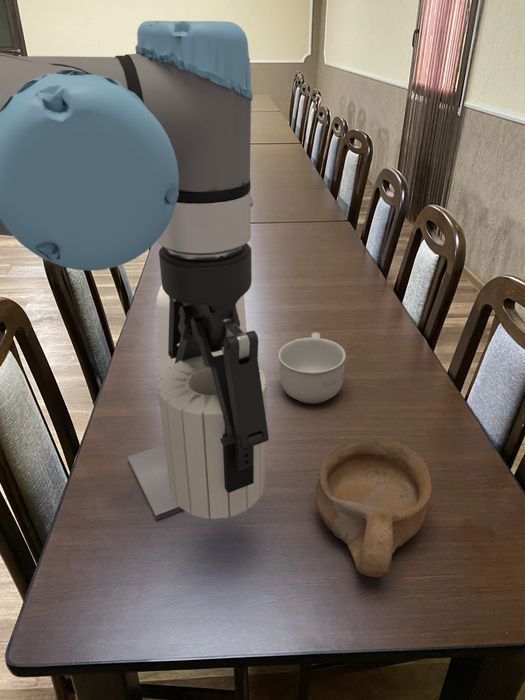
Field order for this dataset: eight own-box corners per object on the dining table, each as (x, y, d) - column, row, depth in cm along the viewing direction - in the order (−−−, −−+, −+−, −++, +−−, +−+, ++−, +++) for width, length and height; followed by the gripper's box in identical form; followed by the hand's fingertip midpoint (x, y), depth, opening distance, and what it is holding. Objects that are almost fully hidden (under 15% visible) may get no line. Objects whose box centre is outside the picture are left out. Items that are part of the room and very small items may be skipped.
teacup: (332, 418, 85) (336, 376, 80) (268, 403, 88) (268, 362, 84) (352, 373, 96) (356, 334, 92) (294, 361, 99) (296, 323, 95)
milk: (161, 404, 87) (144, 252, 74) (185, 366, 97) (174, 226, 84) (232, 414, 85) (227, 260, 72) (249, 375, 95) (248, 232, 81)
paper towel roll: (191, 533, 51) (182, 427, 45) (156, 468, 59) (144, 369, 52) (281, 496, 55) (285, 393, 49) (238, 439, 63) (236, 344, 56)
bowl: (470, 584, 58) (463, 525, 53) (343, 614, 59) (324, 560, 54) (416, 467, 73) (407, 412, 68) (316, 493, 74) (300, 441, 69)
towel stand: (156, 520, 67) (145, 437, 60) (128, 461, 76) (115, 383, 69) (242, 487, 72) (241, 406, 65) (206, 435, 81) (201, 359, 74)
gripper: (322, 285, 37) (306, 513, 48) (194, 202, 53) (205, 386, 65) (222, 309, 33) (231, 547, 45) (119, 213, 50) (145, 403, 62)
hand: (215, 451), depth 55 cm, fingers closed on paper towel roll, 10 cm apart
